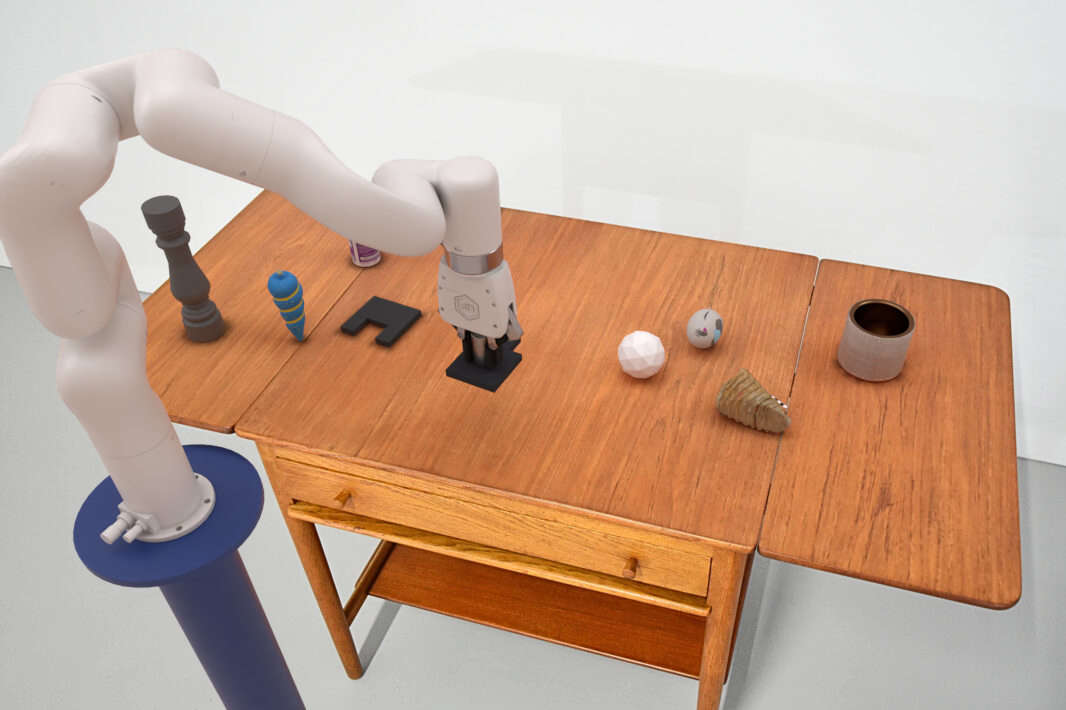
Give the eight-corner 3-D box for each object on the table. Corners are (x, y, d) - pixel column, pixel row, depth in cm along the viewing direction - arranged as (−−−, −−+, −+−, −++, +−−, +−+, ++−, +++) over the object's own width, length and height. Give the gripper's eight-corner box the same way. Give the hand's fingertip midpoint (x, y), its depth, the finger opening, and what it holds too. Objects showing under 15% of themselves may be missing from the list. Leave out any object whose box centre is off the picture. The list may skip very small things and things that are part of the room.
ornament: (307, 351, 152) (287, 279, 142) (279, 348, 153) (257, 275, 142) (319, 332, 156) (301, 260, 145) (291, 329, 156) (271, 257, 146)
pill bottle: (385, 254, 173) (378, 211, 167) (373, 270, 170) (364, 226, 163) (360, 250, 174) (351, 206, 168) (347, 265, 171) (337, 221, 164)
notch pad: (389, 348, 153) (388, 342, 152) (341, 331, 156) (340, 326, 155) (421, 315, 160) (421, 310, 159) (375, 300, 163) (374, 295, 162)
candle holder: (179, 337, 154) (129, 209, 137) (204, 316, 158) (159, 191, 141) (208, 346, 153) (161, 218, 136) (233, 325, 157) (190, 199, 140)
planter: (824, 348, 154) (835, 304, 148) (880, 337, 157) (893, 292, 150) (856, 389, 147) (869, 344, 140) (914, 376, 149) (929, 331, 143)
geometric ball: (630, 378, 152) (620, 332, 151) (675, 371, 149) (665, 323, 148) (616, 386, 145) (606, 337, 144) (663, 378, 142) (653, 329, 141)
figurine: (712, 363, 151) (716, 332, 146) (678, 354, 153) (681, 323, 148) (726, 336, 156) (730, 305, 152) (693, 327, 158) (696, 297, 154)
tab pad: (494, 393, 126) (491, 356, 121) (445, 376, 128) (441, 339, 123) (534, 346, 133) (532, 310, 129) (487, 330, 136) (484, 294, 131)
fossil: (719, 386, 147) (709, 417, 140) (729, 358, 143) (719, 388, 136) (790, 410, 146) (783, 442, 139) (801, 382, 142) (795, 414, 135)
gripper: (404, 250, 116) (420, 359, 128) (514, 284, 111) (520, 393, 124) (436, 222, 121) (449, 329, 133) (543, 254, 116) (546, 362, 129)
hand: (483, 359), depth 128 cm, fingers closed on tab pad, 3 cm apart
